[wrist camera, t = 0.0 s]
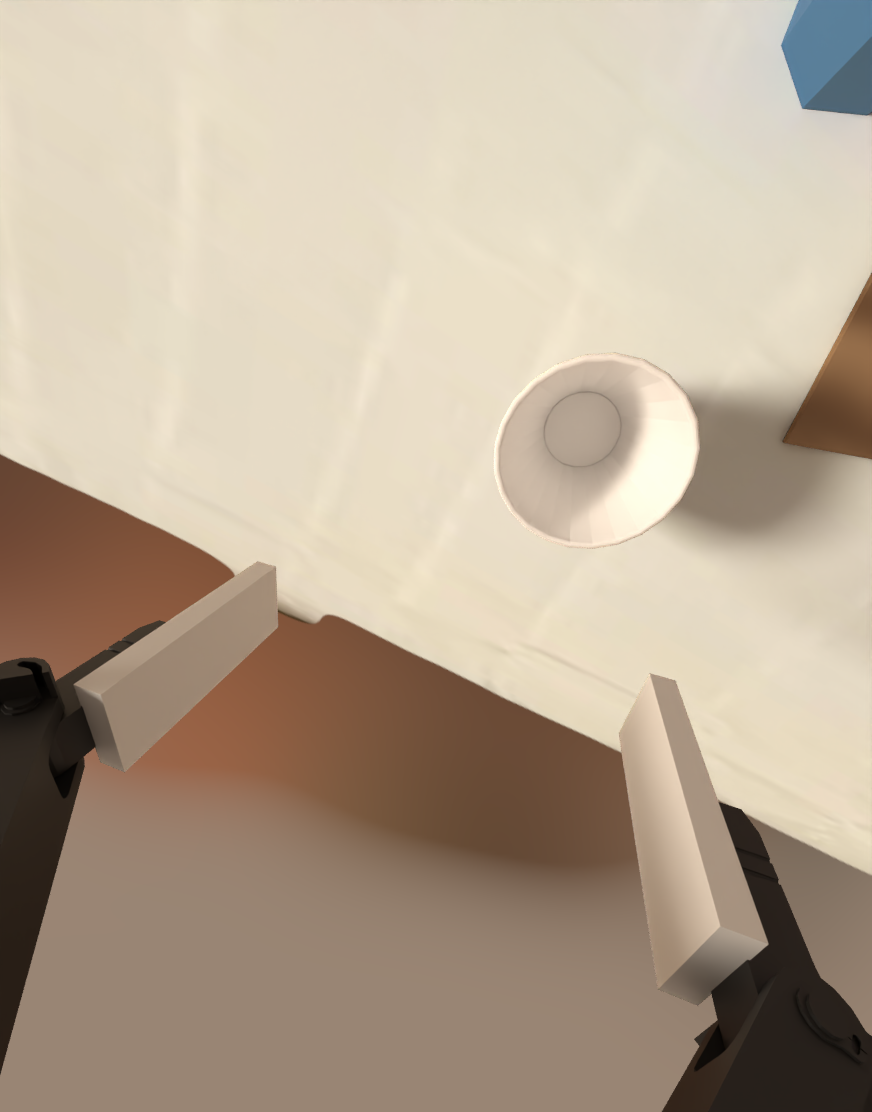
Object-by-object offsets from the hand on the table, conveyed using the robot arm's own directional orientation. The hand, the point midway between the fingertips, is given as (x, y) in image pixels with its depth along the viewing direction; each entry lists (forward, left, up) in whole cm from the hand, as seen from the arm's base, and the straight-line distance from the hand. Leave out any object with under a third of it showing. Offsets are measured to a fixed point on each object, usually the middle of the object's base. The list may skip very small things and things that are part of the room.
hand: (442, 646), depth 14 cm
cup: (-4, +5, -28) cm, 29 cm away
